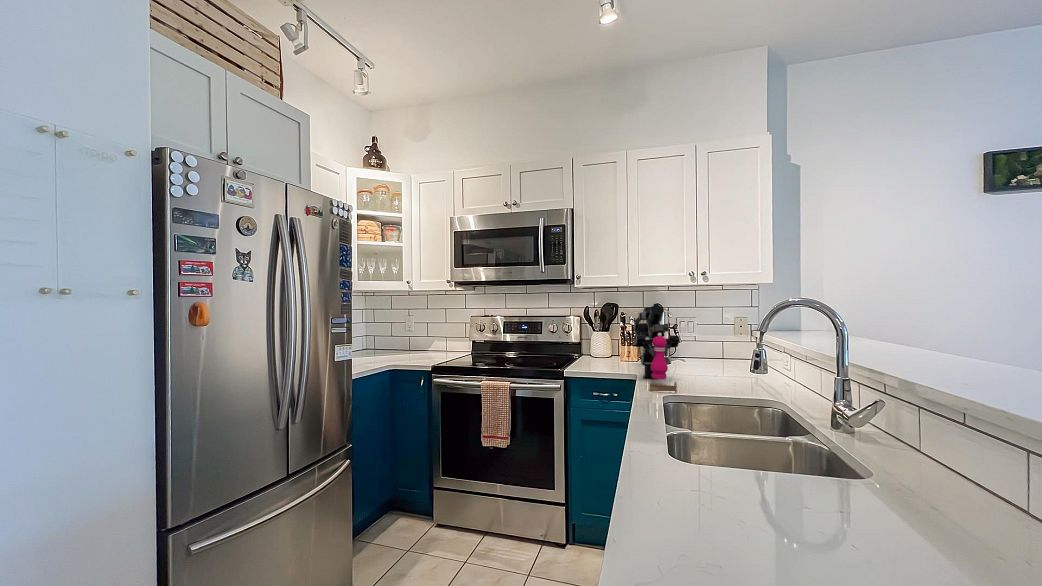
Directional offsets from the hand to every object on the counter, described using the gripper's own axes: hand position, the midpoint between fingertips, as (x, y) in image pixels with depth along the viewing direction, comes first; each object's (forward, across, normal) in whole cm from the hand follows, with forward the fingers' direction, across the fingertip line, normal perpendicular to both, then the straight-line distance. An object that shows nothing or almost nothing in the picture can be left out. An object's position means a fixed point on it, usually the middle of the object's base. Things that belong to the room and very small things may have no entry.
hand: (660, 356), depth 192 cm
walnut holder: (+14, 0, +4) cm, 15 cm away
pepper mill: (+6, 0, +8) cm, 10 cm away
